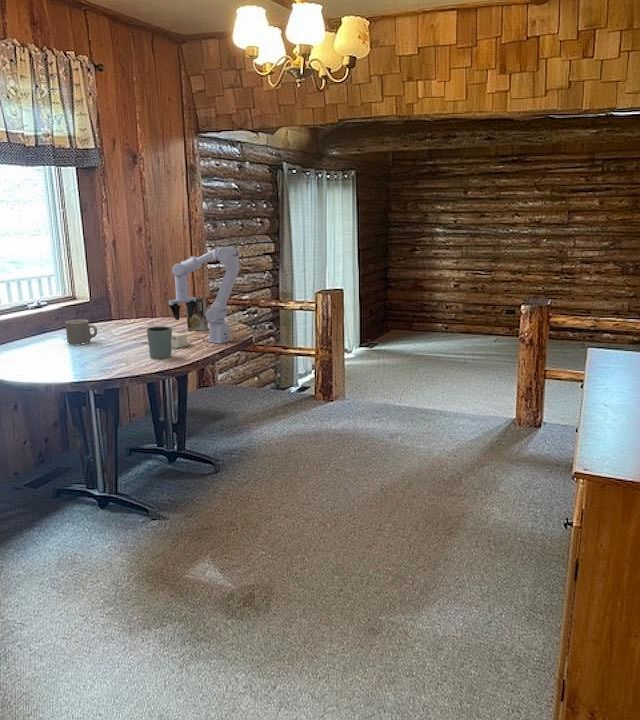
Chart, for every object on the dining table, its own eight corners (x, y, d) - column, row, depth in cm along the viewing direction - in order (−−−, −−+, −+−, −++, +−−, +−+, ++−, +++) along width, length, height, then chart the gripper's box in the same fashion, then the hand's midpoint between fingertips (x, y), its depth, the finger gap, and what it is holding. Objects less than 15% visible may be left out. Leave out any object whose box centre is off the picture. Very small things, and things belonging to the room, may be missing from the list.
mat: (193, 345, 286) (193, 344, 286) (174, 349, 277) (174, 348, 277) (160, 339, 300) (160, 338, 300) (141, 343, 292) (140, 342, 292)
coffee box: (208, 328, 326) (206, 297, 322) (204, 331, 319) (203, 299, 316) (191, 328, 326) (189, 297, 323) (187, 331, 320) (185, 299, 317)
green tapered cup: (152, 354, 269) (150, 326, 266) (176, 354, 268) (174, 326, 266) (145, 359, 259) (143, 330, 256) (170, 359, 259) (168, 330, 256)
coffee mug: (63, 345, 290) (61, 323, 288) (73, 340, 299) (71, 319, 297) (92, 345, 289) (90, 323, 287) (101, 340, 299) (99, 319, 296)
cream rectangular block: (187, 345, 284) (186, 334, 283) (178, 347, 280) (177, 336, 279) (173, 342, 290) (172, 331, 289) (164, 344, 286) (163, 333, 285)
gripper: (188, 287, 302) (190, 315, 305) (163, 290, 291) (165, 319, 294) (198, 288, 297) (200, 317, 301) (173, 291, 286) (175, 321, 290)
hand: (183, 318), depth 297 cm, fingers open, 7 cm apart
